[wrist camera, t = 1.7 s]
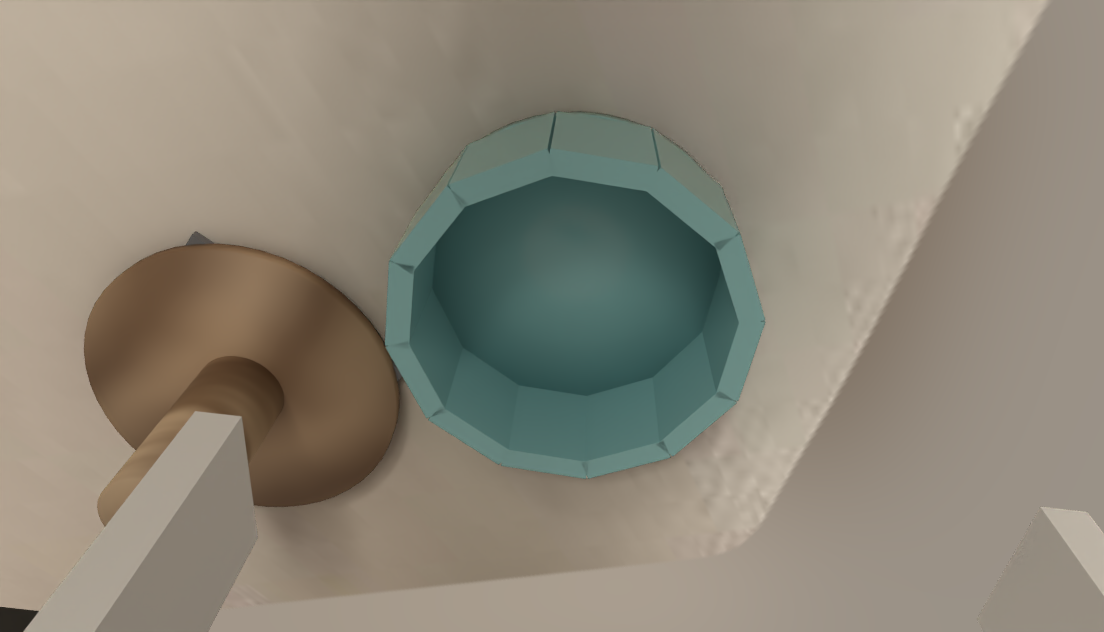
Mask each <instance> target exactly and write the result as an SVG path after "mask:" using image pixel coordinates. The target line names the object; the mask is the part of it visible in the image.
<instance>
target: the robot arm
mask: <svg viewBox="0 0 1104 632" xmlns="http://www.w3.org/2000/svg"><path fill="white" fill-rule="evenodd" d="M257 538H258V534H257V526H256V519H255V511H254V504H253V497H252V489H251V482H250V474H249V467H248V460H247V452H246V445H245V437H244V430H243V422H242V416H234V415H225V414H216V413H207V412H198V411H195V412H194V413H193V415H192V416H191V417H190V418H189V420H188V421H187V422H186V424H185V425H184V426H183V427H182V429H181V430H180V431H179V433H178V434H177V435H176V436H175V438H174V439H173V440H172V442H171V443H170V444H169V445H168V447H167V448H166V449H165V450H164V452H163V453H162V454H161V456H160V457H159V458H158V459H157V461H156V462H155V463H154V465H153V466H152V467H151V468H150V470H149V471H148V472H147V474H146V475H145V476H144V477H143V479H142V480H141V481H140V483H139V484H138V485H137V486H136V488H135V489H134V490H133V492H132V493H131V494H130V495H129V497H128V498H127V499H126V501H125V502H124V503H123V504H122V506H121V507H120V508H119V509H118V511H117V512H116V513H115V515H114V516H113V517H112V518H111V520H110V521H109V522H108V524H107V525H106V526H105V527H104V529H103V530H102V531H101V533H100V534H99V535H98V536H97V538H96V539H95V540H94V542H93V543H92V544H91V545H90V547H89V548H88V549H87V551H86V552H85V553H84V554H83V556H82V557H81V558H80V560H79V561H78V562H77V563H76V565H75V566H74V567H73V568H72V570H71V571H70V572H69V574H68V575H67V576H66V577H65V579H64V580H63V581H62V583H61V584H60V585H59V586H58V588H57V589H56V590H55V592H54V593H53V594H52V595H51V597H50V598H49V599H48V601H47V602H46V603H45V604H44V606H43V607H42V608H41V610H40V611H33V610H24V609H15V608H6V607H0V632H208V631H209V629H210V627H211V625H212V623H213V621H214V619H215V618H216V616H217V614H218V612H219V610H220V608H221V606H222V604H223V603H224V601H225V599H226V597H227V595H228V593H229V591H230V589H231V587H232V586H233V584H234V582H235V580H236V578H237V576H238V574H239V572H240V570H241V569H242V567H243V565H244V563H245V561H246V559H247V557H248V555H249V554H250V552H251V550H252V548H253V546H254V544H255V542H256V540H257ZM977 620H978V622H979V624H980V626H981V628H982V630H983V632H1104V533H1103V532H1102V531H1101V530H1100V528H1099V527H1098V526H1097V524H1096V523H1095V522H1094V520H1093V519H1092V518H1091V517H1090V515H1089V514H1088V513H1087V512H1083V511H1074V510H1065V509H1056V508H1048V507H1040V508H1039V510H1038V512H1037V513H1036V515H1035V517H1034V519H1033V520H1032V522H1031V524H1030V526H1029V528H1028V529H1027V531H1026V533H1025V534H1024V536H1023V538H1022V540H1021V542H1020V543H1019V545H1018V547H1017V549H1016V550H1015V552H1014V554H1013V556H1012V558H1011V559H1010V561H1009V563H1008V565H1007V566H1006V568H1005V570H1004V572H1003V573H1002V575H1001V577H1000V579H999V580H998V582H997V584H996V586H995V588H994V589H993V591H992V593H991V595H990V596H989V598H988V600H987V602H986V603H985V605H984V607H983V609H982V610H981V612H980V614H979V616H978V618H977Z"/></svg>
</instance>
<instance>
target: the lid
mask: <svg viewBox="0 0 1104 632" xmlns="http://www.w3.org/2000/svg"><path fill="white" fill-rule="evenodd" d="M84 356H85V365H86V370H87V374H88V377H89V381H90V385H91V387H92V389H93V392H94V394H95V396H96V399H97V401H98V403H99V404H100V406H101V408H102V410H103V411H104V413H105V415H106V416H107V418H108V419H109V421H110V422H111V423H112V425H113V426H114V427H115V429H116V430H117V431H118V432H119V433H120V435H121V436H122V437H123V438H124V439H125V440H126V441H127V442H128V443H129V444H130V445H131V446H132V447H133V448H134V449H135V450H136V451H135V452H134V454H133V455H132V456H131V457H130V458H129V460H128V461H127V462H126V463H125V465H124V466H123V467H122V468H121V469H120V471H119V472H118V473H117V474H116V476H115V477H114V478H113V479H112V480H111V482H110V483H109V484H108V485H107V487H106V488H105V489H104V490H103V491H102V493H101V494H100V496H99V499H98V505H97V508H98V513H99V517H100V519H101V521H102V523H103V524H104V526H106V525H107V524H108V522H109V521H110V520H111V518H112V517H113V516H114V515H115V513H116V512H117V511H118V509H119V508H120V507H121V506H122V504H123V503H124V502H125V501H126V499H127V498H128V497H129V495H130V494H131V493H132V492H133V490H134V489H135V488H136V486H137V485H138V484H139V483H140V481H141V480H142V479H143V477H144V476H145V475H146V474H147V472H148V471H149V470H150V468H151V467H152V466H153V465H154V463H155V462H156V461H157V459H158V458H159V457H160V456H161V454H162V453H163V452H164V450H165V449H166V448H167V447H168V445H169V444H170V443H171V442H172V440H173V439H174V438H175V436H176V435H177V434H178V433H179V431H180V430H181V429H182V427H183V426H184V425H185V424H186V422H187V421H188V420H189V418H190V417H191V416H192V415H193V413H194V412H195V411H198V412H207V413H216V414H225V415H234V416H242V422H243V430H244V437H245V445H246V452H247V460H248V467H249V474H250V482H251V489H252V497H253V504H254V505H257V506H266V507H288V506H299V505H306V504H311V503H315V502H320V501H323V500H326V499H329V498H332V497H335V496H337V495H339V494H341V493H343V492H345V491H347V490H349V489H350V488H352V487H353V486H355V485H356V484H358V483H359V482H361V481H362V480H363V479H364V478H365V477H366V476H367V475H369V474H370V473H371V472H372V471H373V470H374V468H375V467H376V466H377V464H378V463H379V462H380V461H381V459H382V458H383V456H384V454H385V452H386V450H387V448H388V446H389V444H390V441H391V439H392V436H393V433H394V430H395V427H396V424H397V419H398V412H399V388H398V382H397V377H396V373H395V370H394V367H393V363H392V360H391V357H390V355H389V353H388V351H387V349H386V347H385V345H384V343H383V341H382V339H381V338H380V336H379V335H378V333H377V332H376V330H375V329H374V327H373V326H372V324H371V323H370V322H369V320H368V319H367V318H366V317H365V316H364V315H363V313H362V312H361V311H360V310H359V309H358V308H357V307H356V306H355V305H354V304H353V303H352V302H351V301H350V300H349V299H348V298H347V297H346V296H345V295H344V294H342V293H341V292H340V291H339V290H337V289H336V288H335V287H333V286H332V285H331V284H329V283H328V282H327V281H325V280H324V279H322V278H321V277H319V276H317V275H316V274H314V273H312V272H311V271H309V270H307V269H306V268H304V267H302V266H299V265H297V264H295V263H293V262H291V261H289V260H286V259H284V258H282V257H279V256H276V255H273V254H270V253H267V252H264V251H260V250H256V249H251V248H247V247H242V246H236V245H226V244H193V245H187V246H179V247H174V248H171V249H167V250H164V251H160V252H157V253H155V254H153V255H151V256H148V257H146V258H144V259H142V260H140V261H139V262H137V263H136V264H134V265H133V266H131V267H130V268H128V269H127V270H126V271H124V272H123V273H122V274H121V275H119V276H118V277H117V278H116V279H115V280H114V281H113V282H112V283H111V284H110V285H109V286H108V287H107V288H106V289H105V290H104V291H103V293H102V294H101V296H100V297H99V298H98V300H97V301H96V303H95V305H94V307H93V309H92V312H91V314H90V316H89V318H88V322H87V327H86V331H85V339H84Z"/></svg>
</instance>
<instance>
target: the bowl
mask: <svg viewBox="0 0 1104 632" xmlns="http://www.w3.org/2000/svg"><path fill="white" fill-rule="evenodd" d="M764 320H765V317H764V314H763V310H762V307H761V303H760V300H759V297H758V293H757V290H756V286H755V283H754V279H753V276H752V272H751V269H750V265H749V262H748V259H747V255H746V252H745V248H744V245H743V241H742V238H741V234H740V232H739V229H738V227H737V224H736V222H735V219H734V217H733V214H732V212H731V209H730V207H729V204H728V202H727V199H726V197H725V194H724V192H723V189H722V188H721V186H720V185H719V184H718V183H717V182H716V181H715V180H714V179H712V178H711V177H710V176H709V175H708V174H706V173H705V171H704V170H703V169H702V167H701V166H700V165H699V164H698V163H697V162H696V161H695V160H694V159H693V158H692V157H691V156H690V155H689V154H688V153H687V152H686V151H684V150H683V149H682V148H680V147H679V146H678V145H676V144H675V143H674V142H672V141H671V140H669V139H668V138H666V137H665V136H663V135H661V134H659V133H658V132H657V131H656V130H655V129H654V128H652V129H651V127H649V126H643V125H640V124H638V123H635V122H633V121H630V120H627V119H624V118H620V117H615V116H611V115H607V114H601V113H591V112H581V111H579V112H560V111H557V112H556V113H555V111H554V112H552V113H549V114H543V115H537V116H533V117H530V118H526V119H523V120H520V121H516V122H513V123H511V124H509V125H507V126H504V127H502V128H500V129H498V130H496V131H494V132H492V133H490V134H489V135H487V136H485V137H484V138H482V139H480V140H477V141H475V142H472V143H470V144H469V145H467V146H466V147H465V149H464V150H463V151H462V153H461V154H460V155H459V156H458V158H457V159H456V160H455V162H454V163H453V164H452V165H451V166H450V167H449V168H448V170H447V171H446V172H445V173H444V175H443V176H442V178H441V179H440V181H439V182H438V184H437V185H436V187H435V188H434V189H433V190H432V192H431V193H430V194H429V196H428V197H427V198H426V200H425V201H424V202H423V204H422V205H421V206H420V207H419V209H418V210H417V212H416V213H415V215H414V217H413V219H412V221H411V222H410V224H409V226H408V228H407V229H406V231H405V233H404V235H403V237H402V238H401V240H400V242H399V244H398V246H397V247H396V249H395V251H394V253H393V255H392V256H391V258H390V261H389V270H388V291H387V312H386V333H385V345H386V349H387V351H388V353H389V354H390V356H391V358H392V359H393V361H394V363H395V365H396V366H397V368H398V370H399V372H400V373H401V375H402V377H403V378H404V380H405V382H406V384H407V385H408V387H409V389H410V391H411V392H412V394H413V396H414V397H415V399H416V401H417V403H418V404H419V406H420V408H421V410H422V411H423V413H424V415H425V416H426V418H429V419H428V420H429V421H431V422H432V423H434V424H435V425H437V426H439V427H440V428H442V429H443V430H445V431H446V432H448V433H450V434H451V435H453V436H454V437H456V438H457V439H459V440H460V441H462V442H464V443H465V444H467V445H468V446H470V447H471V448H473V449H475V450H476V451H478V452H479V453H481V454H482V455H484V456H486V457H487V458H489V459H490V460H492V461H493V462H495V463H497V464H498V465H499V464H500V463H501V462H502V464H501V466H506V467H512V468H519V469H525V470H532V471H538V472H545V473H551V474H558V475H564V476H570V477H577V478H583V479H586V475H587V477H588V479H589V478H593V477H597V476H601V475H605V474H609V473H613V472H617V471H620V470H624V469H628V468H632V467H636V466H640V465H644V464H648V463H652V462H656V461H660V460H664V459H667V458H671V456H674V455H675V454H677V453H678V452H679V451H680V450H681V449H683V448H684V447H685V446H686V445H687V444H688V443H690V442H691V441H692V440H693V439H694V438H696V437H697V436H698V435H699V434H700V433H702V432H703V431H704V430H705V429H706V428H708V427H709V426H710V425H711V424H712V423H713V422H715V421H716V420H717V419H718V418H719V417H721V416H722V415H723V414H724V413H725V412H727V411H728V410H729V409H730V408H731V407H733V406H734V405H735V404H736V403H737V402H736V401H738V400H739V397H740V394H741V391H742V388H743V386H744V383H745V380H746V377H747V374H748V371H749V368H750V365H751V362H752V359H753V357H754V354H755V351H756V348H757V345H758V342H759V339H760V336H761V333H762V330H763V328H764V325H765V321H764ZM670 455H671V456H670Z"/></svg>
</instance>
